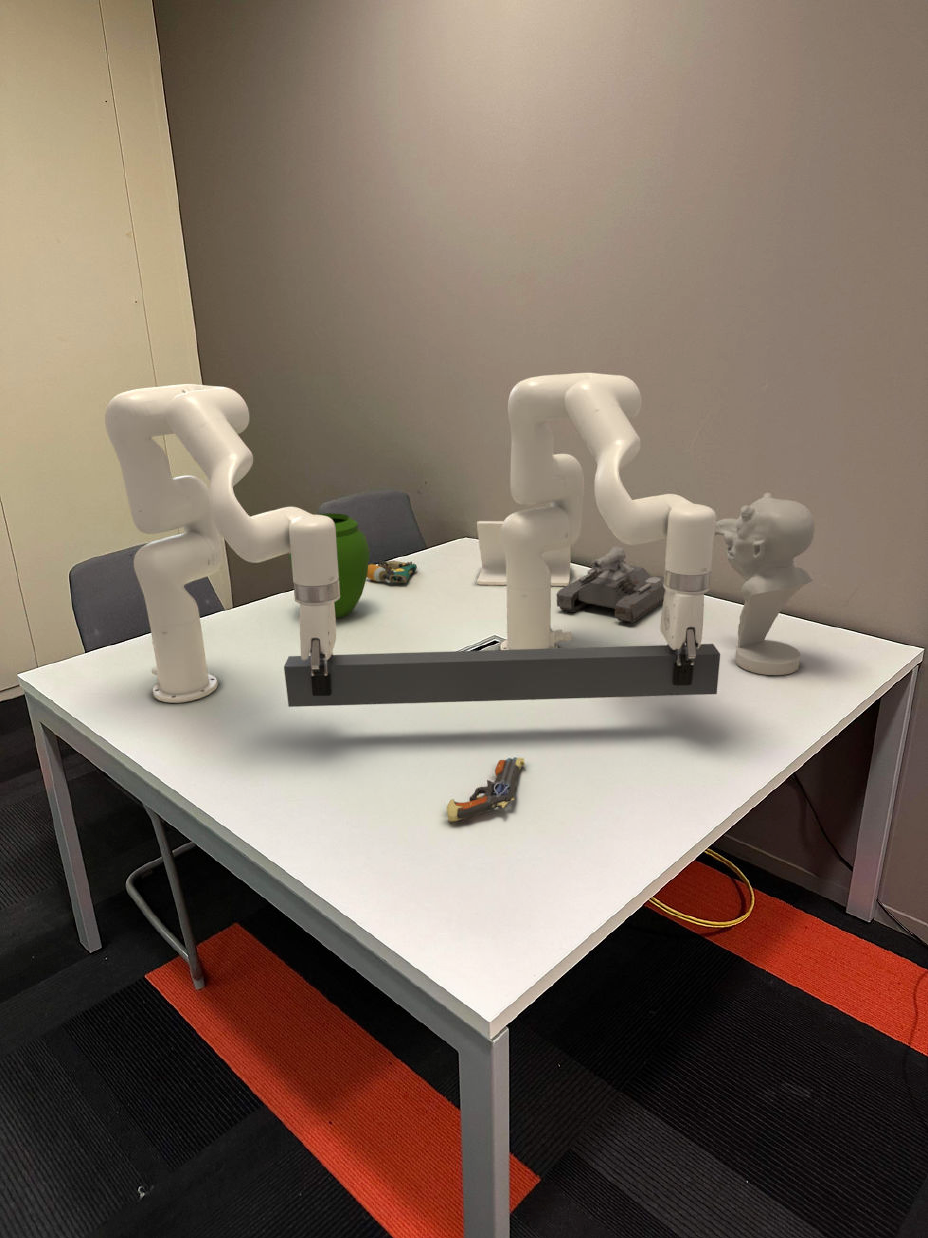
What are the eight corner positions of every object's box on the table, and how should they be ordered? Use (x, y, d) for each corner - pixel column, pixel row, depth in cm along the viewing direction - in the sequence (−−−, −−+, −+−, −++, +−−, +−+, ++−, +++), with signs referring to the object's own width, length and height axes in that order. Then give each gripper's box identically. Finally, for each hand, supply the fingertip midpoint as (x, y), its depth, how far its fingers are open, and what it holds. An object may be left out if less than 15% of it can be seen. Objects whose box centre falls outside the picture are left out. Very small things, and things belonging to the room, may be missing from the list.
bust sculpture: (735, 630, 196) (748, 478, 183) (821, 666, 176) (842, 499, 163) (681, 644, 189) (691, 488, 176) (764, 683, 169) (782, 510, 157)
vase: (389, 608, 216) (383, 514, 208) (339, 633, 201) (330, 533, 192) (330, 596, 226) (322, 506, 218) (278, 619, 211) (267, 523, 202)
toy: (603, 584, 229) (605, 530, 224) (673, 597, 218) (677, 540, 213) (555, 612, 210) (556, 553, 205) (630, 627, 199) (633, 566, 194)
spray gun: (385, 567, 251) (431, 574, 246) (355, 581, 237) (403, 588, 231) (385, 553, 250) (431, 560, 244) (355, 566, 236) (403, 573, 230)
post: (709, 683, 152) (713, 643, 149) (716, 694, 148) (720, 653, 145) (292, 695, 152) (288, 656, 149) (288, 707, 148) (283, 666, 145)
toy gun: (442, 810, 126) (509, 808, 124) (466, 754, 144) (524, 752, 142) (445, 827, 127) (511, 825, 125) (468, 769, 145) (526, 767, 142)
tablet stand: (569, 585, 229) (570, 524, 223) (476, 584, 232) (475, 523, 226) (570, 566, 246) (571, 508, 240) (484, 564, 249) (483, 507, 243)
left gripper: (302, 574, 150) (310, 668, 157) (285, 608, 134) (294, 711, 141) (345, 573, 150) (351, 667, 157) (332, 607, 134) (339, 710, 141)
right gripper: (653, 563, 150) (646, 658, 157) (676, 597, 134) (667, 700, 141) (696, 562, 150) (687, 657, 157) (724, 596, 134) (713, 699, 141)
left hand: (324, 687), depth 149 cm, fingers closed on post, 4 cm apart
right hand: (678, 676), depth 149 cm, fingers closed on post, 4 cm apart
